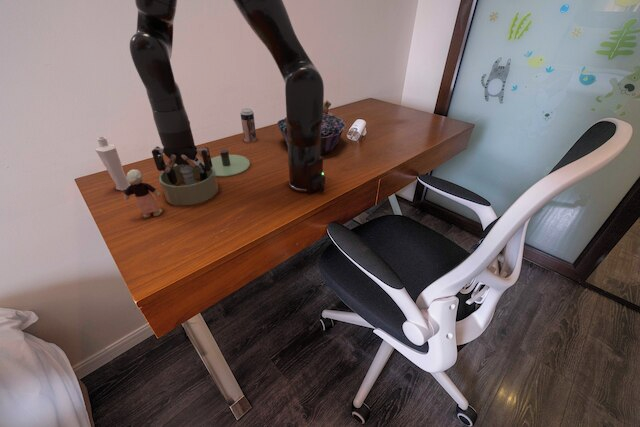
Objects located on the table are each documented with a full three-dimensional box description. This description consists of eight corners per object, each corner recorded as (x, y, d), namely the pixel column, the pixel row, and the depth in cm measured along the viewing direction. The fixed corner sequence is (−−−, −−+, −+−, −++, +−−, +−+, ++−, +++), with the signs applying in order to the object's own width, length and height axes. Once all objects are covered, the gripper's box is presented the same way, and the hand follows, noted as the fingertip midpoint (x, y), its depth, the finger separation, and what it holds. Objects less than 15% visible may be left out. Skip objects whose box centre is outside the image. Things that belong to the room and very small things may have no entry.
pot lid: (259, 166, 95) (257, 149, 92) (222, 183, 85) (219, 166, 82) (230, 153, 102) (228, 138, 99) (193, 168, 92) (189, 151, 89)
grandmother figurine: (165, 206, 75) (149, 163, 68) (167, 214, 73) (150, 170, 65) (133, 214, 72) (112, 170, 65) (133, 222, 70) (111, 177, 62)
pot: (228, 190, 82) (224, 171, 79) (184, 213, 73) (177, 193, 69) (199, 175, 89) (195, 157, 85) (156, 194, 80) (148, 174, 76)
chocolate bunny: (320, 118, 136) (320, 96, 130) (335, 120, 134) (337, 98, 128) (316, 122, 132) (316, 99, 126) (332, 124, 130) (333, 101, 124)
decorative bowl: (268, 156, 105) (264, 131, 99) (294, 126, 125) (293, 103, 119) (333, 167, 100) (334, 141, 93) (350, 134, 119) (352, 111, 113)
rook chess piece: (202, 187, 83) (196, 163, 78) (198, 196, 79) (191, 170, 74) (187, 187, 83) (180, 163, 78) (182, 195, 79) (174, 170, 74)
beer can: (253, 143, 110) (250, 112, 102) (242, 142, 110) (237, 111, 103) (258, 139, 113) (255, 108, 106) (247, 138, 114) (243, 107, 107)
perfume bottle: (128, 181, 85) (107, 133, 76) (135, 186, 83) (114, 137, 74) (112, 187, 82) (88, 138, 73) (118, 192, 80) (94, 142, 71)
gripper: (136, 131, 66) (158, 190, 76) (198, 132, 67) (212, 190, 77) (150, 120, 72) (169, 176, 82) (207, 121, 73) (218, 176, 83)
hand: (189, 183), depth 79 cm, fingers open, 7 cm apart
